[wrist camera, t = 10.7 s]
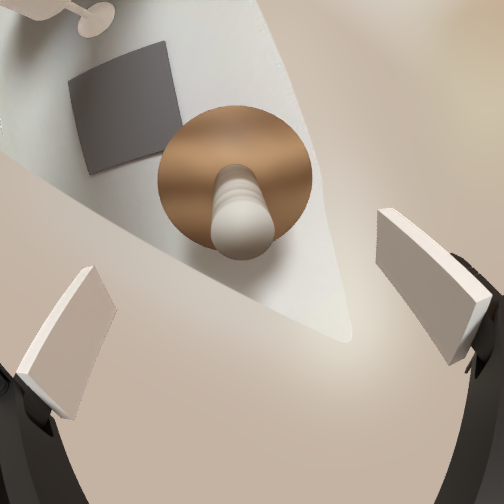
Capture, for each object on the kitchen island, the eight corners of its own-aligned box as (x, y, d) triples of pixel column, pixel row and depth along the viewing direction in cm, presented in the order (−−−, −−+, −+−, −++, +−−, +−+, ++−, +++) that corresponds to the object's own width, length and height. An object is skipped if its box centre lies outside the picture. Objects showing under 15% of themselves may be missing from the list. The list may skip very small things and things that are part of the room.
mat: (69, 81, 29) (67, 81, 28) (165, 41, 28) (164, 40, 28) (90, 174, 36) (89, 175, 36) (186, 143, 36) (186, 144, 35)
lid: (142, 128, 23) (94, 151, 14) (299, 95, 23) (348, 97, 13) (183, 258, 31) (171, 331, 22) (314, 232, 31) (351, 296, 21)
